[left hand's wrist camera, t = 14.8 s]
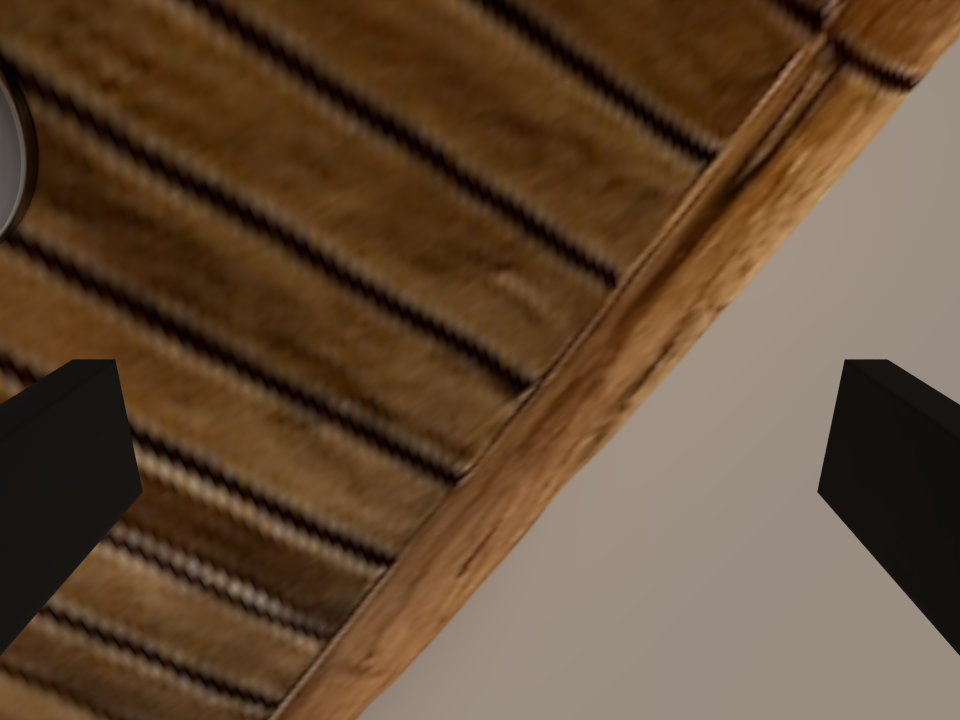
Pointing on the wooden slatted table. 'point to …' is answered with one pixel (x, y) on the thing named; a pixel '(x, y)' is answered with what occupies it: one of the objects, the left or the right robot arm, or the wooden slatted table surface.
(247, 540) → the wooden slatted table surface
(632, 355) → the wooden slatted table surface
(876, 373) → the left robot arm
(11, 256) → the wooden slatted table surface
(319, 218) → the wooden slatted table surface
